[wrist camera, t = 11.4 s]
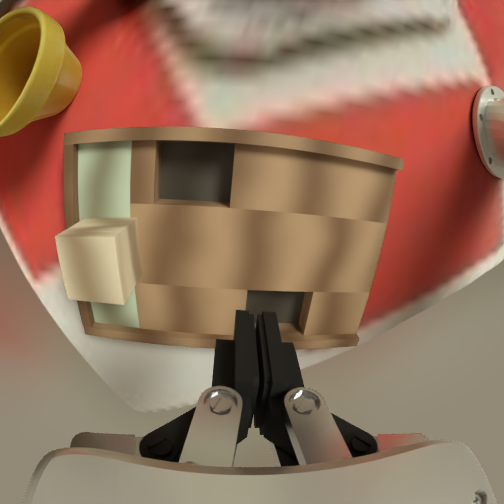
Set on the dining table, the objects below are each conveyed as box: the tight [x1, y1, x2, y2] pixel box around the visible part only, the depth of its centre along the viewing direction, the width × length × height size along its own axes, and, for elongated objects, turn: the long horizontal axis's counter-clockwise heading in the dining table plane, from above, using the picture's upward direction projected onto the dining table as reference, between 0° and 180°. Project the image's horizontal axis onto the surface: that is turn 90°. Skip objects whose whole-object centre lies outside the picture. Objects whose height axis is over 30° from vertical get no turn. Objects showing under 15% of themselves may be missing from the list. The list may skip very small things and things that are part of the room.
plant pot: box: [0, 7, 82, 137], centre depth 13 cm, size 10×10×10 cm
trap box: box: [63, 127, 404, 349], centre depth 23 cm, size 28×19×3 cm
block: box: [55, 218, 142, 305], centre depth 19 cm, size 5×5×5 cm
